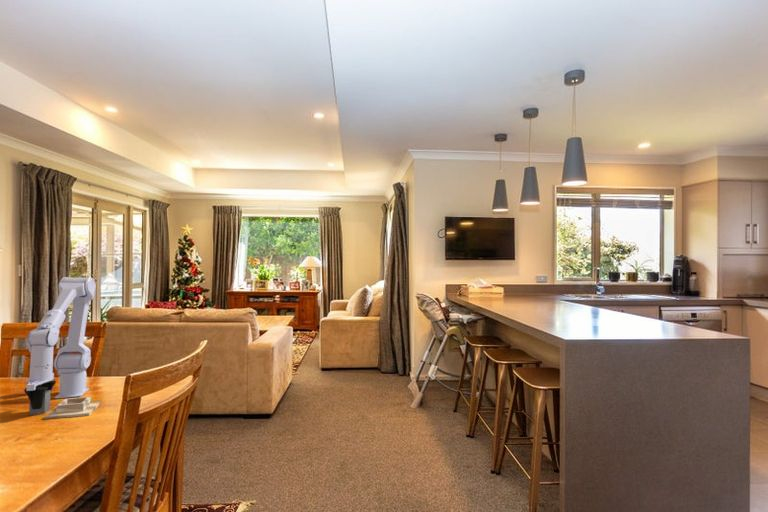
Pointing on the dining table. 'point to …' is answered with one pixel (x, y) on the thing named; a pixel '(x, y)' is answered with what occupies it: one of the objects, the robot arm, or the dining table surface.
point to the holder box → (73, 408)
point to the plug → (44, 407)
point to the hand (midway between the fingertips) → (39, 406)
